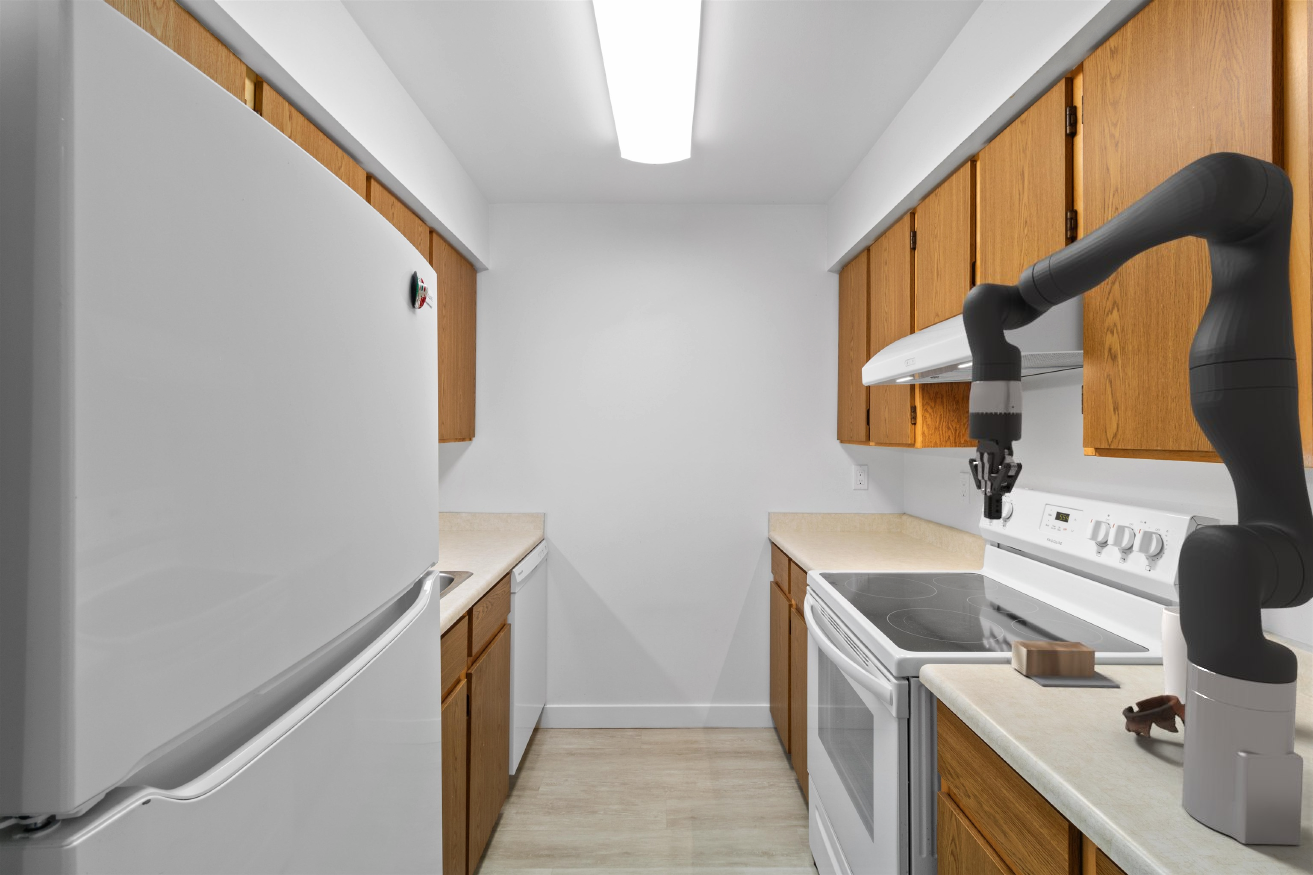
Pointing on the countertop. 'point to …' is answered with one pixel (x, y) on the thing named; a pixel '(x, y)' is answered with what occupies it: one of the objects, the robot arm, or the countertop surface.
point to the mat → (1074, 680)
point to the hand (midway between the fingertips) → (992, 518)
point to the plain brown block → (1053, 658)
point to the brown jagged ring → (1154, 714)
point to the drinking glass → (1173, 653)
